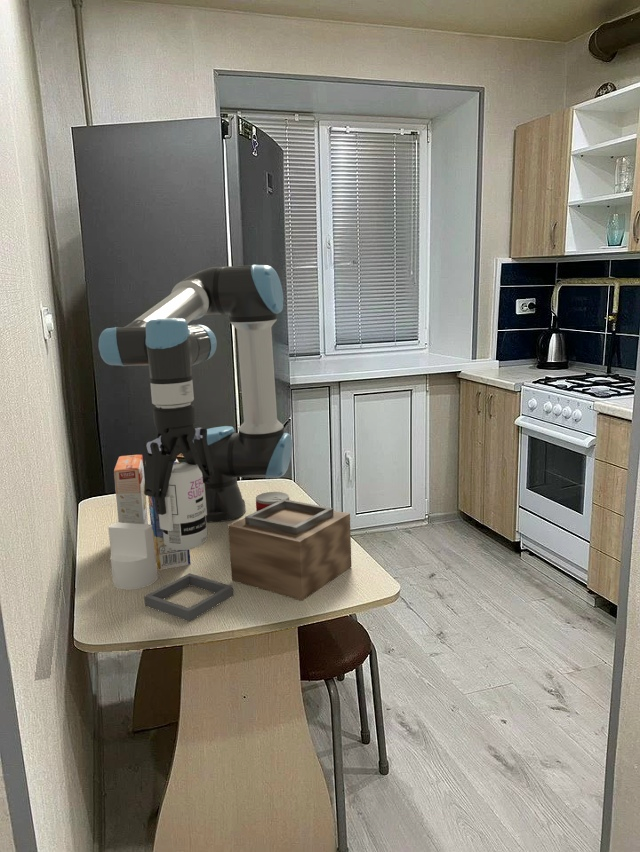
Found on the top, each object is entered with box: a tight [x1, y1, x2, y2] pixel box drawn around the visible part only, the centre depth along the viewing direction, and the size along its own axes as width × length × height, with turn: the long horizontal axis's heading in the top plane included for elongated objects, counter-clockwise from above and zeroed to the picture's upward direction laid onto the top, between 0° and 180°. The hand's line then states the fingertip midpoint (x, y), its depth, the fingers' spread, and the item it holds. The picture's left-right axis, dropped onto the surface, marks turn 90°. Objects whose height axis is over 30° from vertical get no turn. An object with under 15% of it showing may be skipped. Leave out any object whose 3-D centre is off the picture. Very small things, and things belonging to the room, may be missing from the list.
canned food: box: [255, 491, 290, 512], centre depth 156 cm, size 8×8×11 cm
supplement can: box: [160, 462, 208, 551], centre depth 124 cm, size 8×8×15 cm
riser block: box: [227, 499, 353, 601], centre depth 137 cm, size 18×18×14 cm
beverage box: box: [144, 458, 191, 571], centre depth 146 cm, size 7×11×22 cm, turn 20°
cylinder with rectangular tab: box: [107, 522, 159, 590], centre depth 137 cm, size 9×9×12 cm
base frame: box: [143, 572, 235, 622], centre depth 127 cm, size 12×12×2 cm
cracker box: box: [113, 454, 149, 524], centre depth 154 cm, size 14×6×21 cm, turn 12°
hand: (184, 521), depth 125 cm, fingers closed on supplement can, 8 cm apart
